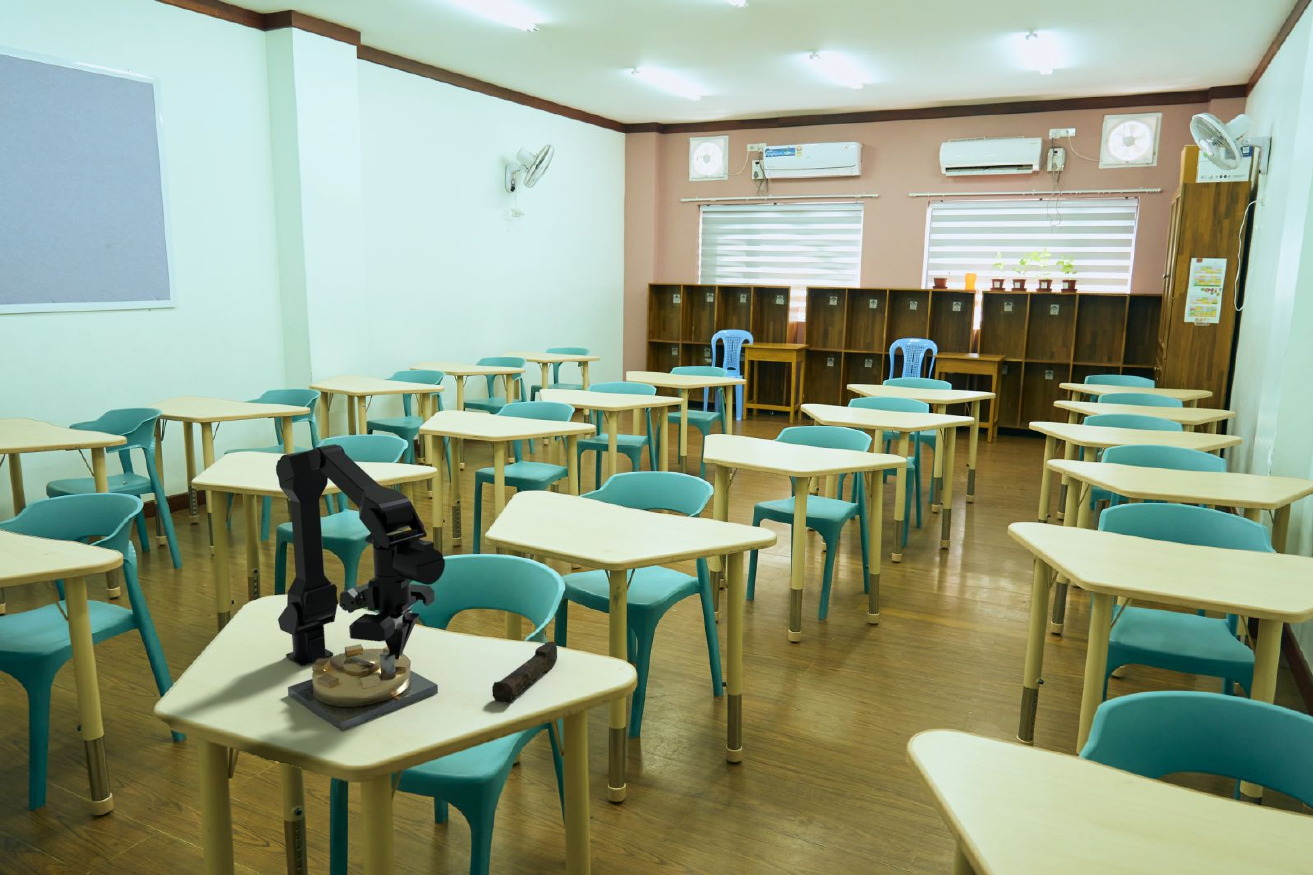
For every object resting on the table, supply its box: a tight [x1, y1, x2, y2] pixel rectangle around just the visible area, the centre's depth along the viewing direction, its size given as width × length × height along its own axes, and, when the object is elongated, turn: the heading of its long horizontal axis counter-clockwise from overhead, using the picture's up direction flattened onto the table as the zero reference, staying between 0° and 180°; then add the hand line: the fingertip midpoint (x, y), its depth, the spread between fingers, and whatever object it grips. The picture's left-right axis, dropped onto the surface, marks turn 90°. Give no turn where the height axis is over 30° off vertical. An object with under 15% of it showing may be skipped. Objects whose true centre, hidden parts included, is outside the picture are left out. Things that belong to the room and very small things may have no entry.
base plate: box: [287, 670, 439, 732], centre depth 153 cm, size 18×18×2 cm
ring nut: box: [311, 643, 412, 707], centre depth 152 cm, size 16×16×7 cm
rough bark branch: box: [491, 640, 558, 704], centre depth 158 cm, size 19×4×5 cm, turn 154°
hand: (396, 658), depth 151 cm, fingers closed
